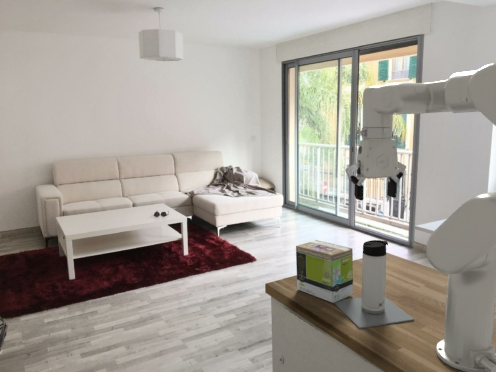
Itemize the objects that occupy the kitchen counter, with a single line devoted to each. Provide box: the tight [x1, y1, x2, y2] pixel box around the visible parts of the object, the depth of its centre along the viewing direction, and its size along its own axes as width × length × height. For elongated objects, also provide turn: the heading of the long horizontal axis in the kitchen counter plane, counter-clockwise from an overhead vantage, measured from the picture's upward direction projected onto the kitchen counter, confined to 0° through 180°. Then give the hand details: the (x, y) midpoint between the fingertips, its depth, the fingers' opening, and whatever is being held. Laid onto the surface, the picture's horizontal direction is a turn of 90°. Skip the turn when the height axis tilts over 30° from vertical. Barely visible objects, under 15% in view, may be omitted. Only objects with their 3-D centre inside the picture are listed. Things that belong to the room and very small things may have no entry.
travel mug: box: [361, 239, 389, 315], centre depth 115 cm, size 6×7×20 cm
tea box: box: [295, 239, 354, 304], centre depth 128 cm, size 15×10×15 cm, turn 38°
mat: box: [333, 296, 415, 330], centre depth 117 cm, size 16×16×1 cm
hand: (375, 198), depth 112 cm, fingers open, 9 cm apart
